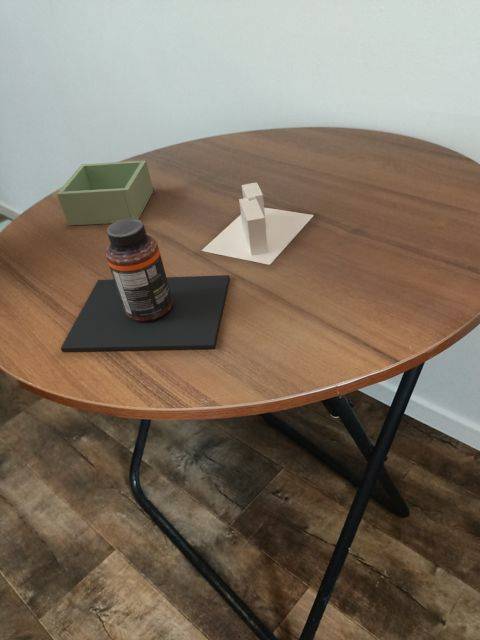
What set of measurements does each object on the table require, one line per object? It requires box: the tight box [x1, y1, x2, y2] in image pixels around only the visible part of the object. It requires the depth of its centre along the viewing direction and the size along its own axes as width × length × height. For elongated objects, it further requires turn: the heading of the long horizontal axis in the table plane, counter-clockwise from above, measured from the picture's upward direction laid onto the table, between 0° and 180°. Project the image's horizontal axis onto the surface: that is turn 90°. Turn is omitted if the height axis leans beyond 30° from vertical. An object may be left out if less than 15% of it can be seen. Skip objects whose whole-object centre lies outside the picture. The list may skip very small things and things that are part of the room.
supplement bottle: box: [105, 219, 173, 322], centre depth 60 cm, size 6×6×11 cm
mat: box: [60, 274, 231, 353], centre depth 64 cm, size 18×14×1 cm
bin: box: [56, 160, 154, 227], centre depth 87 cm, size 12×12×6 cm
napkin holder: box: [200, 182, 315, 266], centre depth 75 cm, size 15×11×6 cm
